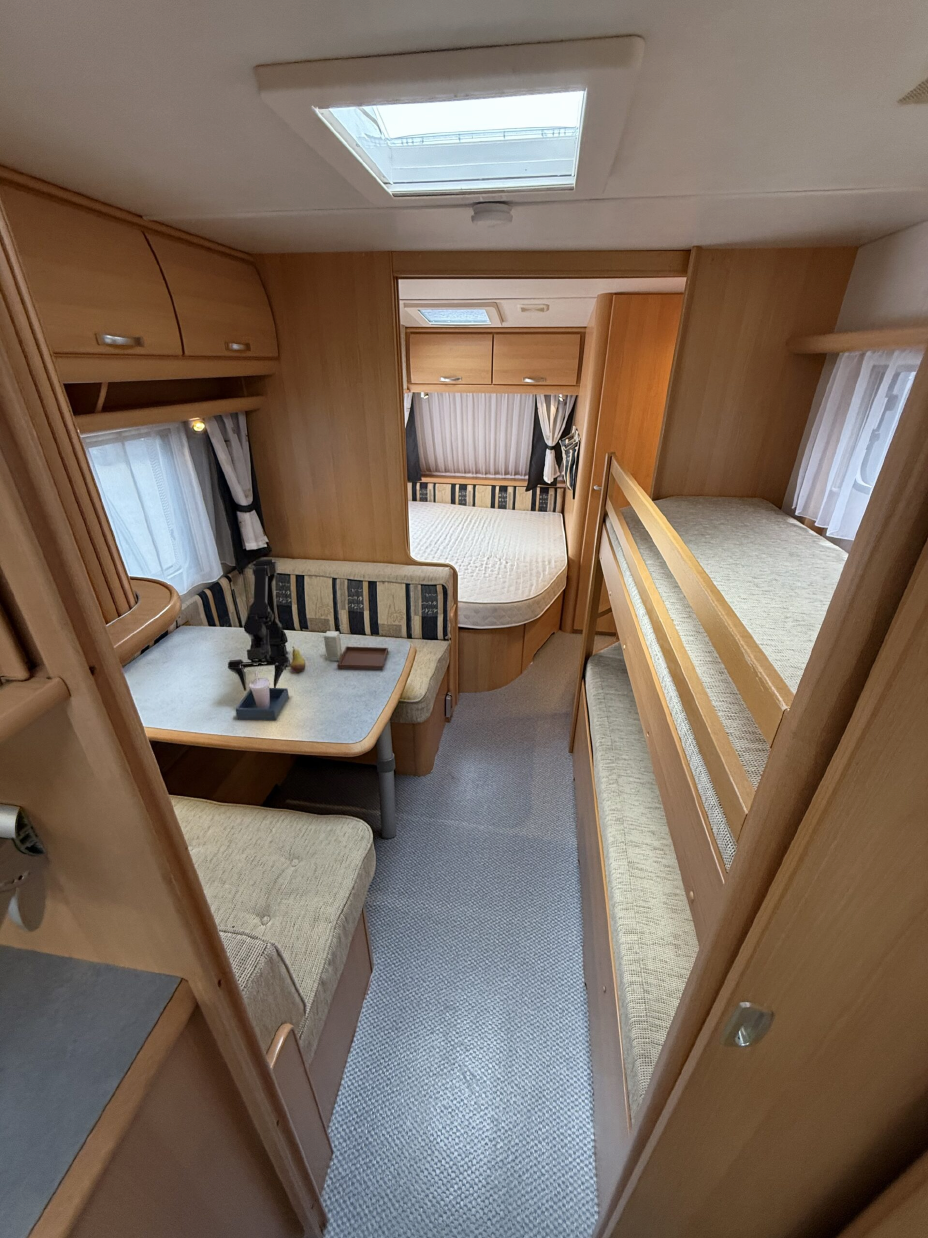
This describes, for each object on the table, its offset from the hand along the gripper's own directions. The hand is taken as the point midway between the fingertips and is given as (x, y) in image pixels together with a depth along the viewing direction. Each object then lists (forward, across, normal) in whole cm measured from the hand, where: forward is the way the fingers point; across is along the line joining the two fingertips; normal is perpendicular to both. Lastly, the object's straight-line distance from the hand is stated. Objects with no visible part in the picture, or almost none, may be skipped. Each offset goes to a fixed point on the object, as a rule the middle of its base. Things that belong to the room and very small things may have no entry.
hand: (259, 689), depth 161 cm
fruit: (-11, +9, +22) cm, 26 cm away
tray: (-13, +34, +25) cm, 44 cm away
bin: (+5, 0, +6) cm, 8 cm away
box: (-16, +22, +27) cm, 39 cm away
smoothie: (+5, 0, +6) cm, 8 cm away
